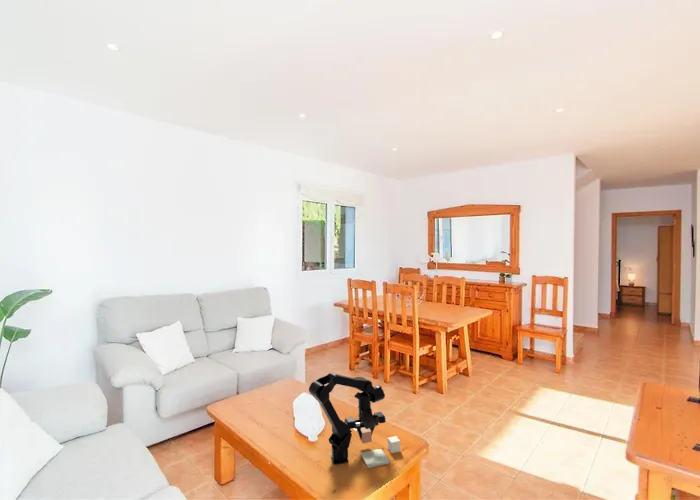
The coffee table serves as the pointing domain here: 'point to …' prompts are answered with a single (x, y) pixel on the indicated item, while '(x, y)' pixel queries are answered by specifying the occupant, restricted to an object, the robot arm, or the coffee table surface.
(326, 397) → the robot arm
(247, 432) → the coffee table surface
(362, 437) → the terracotta brick
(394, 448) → the cream brick
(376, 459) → the plate
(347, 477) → the coffee table surface
